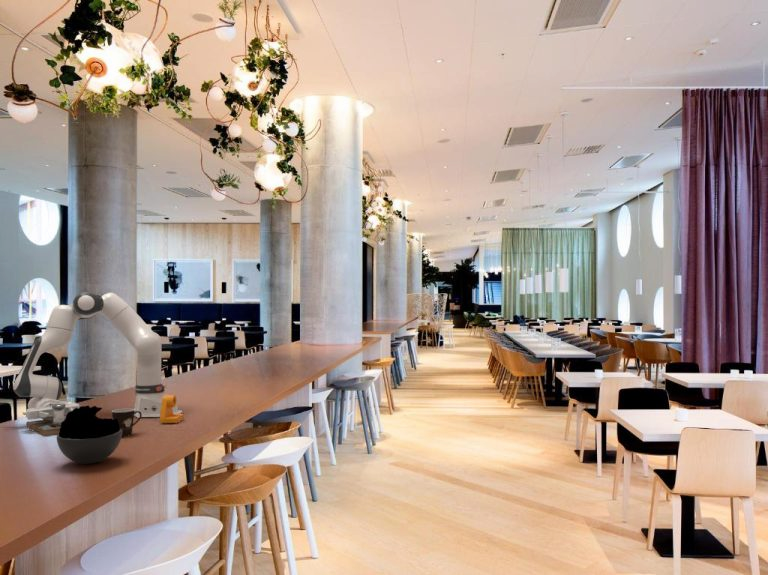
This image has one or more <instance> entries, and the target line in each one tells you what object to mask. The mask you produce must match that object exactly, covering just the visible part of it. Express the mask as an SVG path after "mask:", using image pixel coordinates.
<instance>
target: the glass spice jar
mask: <svg viewBox="0 0 768 575" xmlns="http://www.w3.org/2000/svg"><path fill="white" fill-rule="evenodd" d="M65 407H66V404H54V405H52V408H53V428H56V427H61V423H62V422H63V421H64V419H65V416H64V408H65Z"/></svg>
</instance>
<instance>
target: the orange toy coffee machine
mask: <svg viewBox="0 0 768 575" xmlns="http://www.w3.org/2000/svg"><path fill="white" fill-rule="evenodd" d="M177 401H178V400H177V396H176V394H168V395H164V396H163V398H162V404H161V412H160V418H159V423H161V424H177V423H176V422H179V421H181V420H182V421H183V419H184V418H185V417H184V416H185V415H184V413H182V414H173V409H172V407H175V406H176V402H177ZM182 421H181V422H182ZM179 423H180V422H179Z"/></svg>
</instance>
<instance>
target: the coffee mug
mask: <svg viewBox="0 0 768 575" xmlns="http://www.w3.org/2000/svg"><path fill="white" fill-rule="evenodd" d="M137 412H138V413H140V417H139V418H138V419H137V420H136V421H134V418H135V416H134V414H135V413H137ZM141 416H142V414H141V412H139V411H135V409H134V408H127V407H126V408H116V409H113V410H111V417H112V418H111V419H113V420H114V419H116V418H117V420H118V422H119V426H120V429H122V436H126V437H129V436H128V435H130V436H132V435H131V434H133V428H134V426H135V425H136V424H137V423H139V421H140V420H141V419H142V418H141Z"/></svg>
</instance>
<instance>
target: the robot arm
mask: <svg viewBox="0 0 768 575" xmlns="http://www.w3.org/2000/svg"><path fill="white" fill-rule="evenodd" d="M96 314H100V315H103V316H104V317H105V318H106V319H107V320H108V321H109V322H110V323H111V324H112V325H113V327H115V328H116V329H117V330H118V331H119V333H121V334H122V336H123V337H124V338H125V339H126V340H127V342H128V343H129V344H130V345H131V346H132V347H133V349H134V350H136V352H137V353H136V369H135V370H136V374H135V375H136V376H135V377H136V384H135V386H134V387H135V390H134V391H135V393H134V394H135V402H134V408H133V409H135V411H139V412H141V414H142V416H141V417H160V412H161V404H162V398H163V396H164V395H169V394H168V393H167V391H165V389H166V388H167V385H164V384H162V349H163V348H162V343H163V342H162V338H161V336H160V335H159V334H158V333H157V332H154V331H153V330H152V329H151V327H149V326H148V324H147V323H146V322H145V321H144V320H143V318H142V317H141V316H140V315H139V314H138V313H137V312H136V311H135V310H134V308H132V307H131V306H130V305H129V304H128V303H127V302H126V301H125V300H124V299H123V298H122V297H120V296H119V295H117V294H116V293H115V292H107V293H105V294H103V295H102V296H101V295H99V294H96V293H92V292H89V291H88V292H87V291H83V292H80V293H78V294H77V295H75V297H74V298H73V300H72V303H70V304H69V305H66V304H59V305H57V306H54V308H53V309H52V311H51V314H50V315H49V318H48V321H47V325H46V329H45V331H44V333H43V334H42V335H41V336H40V337H37V338H36V339H35V340H34V341H33V343H32V345H31V347H30V348H29V351H28V353H27V355H26V358H25V360H24V362H23V365H22V366H21V369H20V371H19V372H18V375H17V376H16V379H15V380H14V383H13V386H12V389H13V392H14V393H15V395H17V396H18V397H19V398H30V399H29V401H28V403H27V409H25V411H23V412H22V415H24V416H25V417H26V419H27V420H35V419H36V420H37V419H39V420H52V419H53V408H52V405H54V404H66V407H65V408H64V417H66V415H67V413H69V412H70V411H72V410H74V409H75V408H78V409H79V407H81V406H80V404H79V403H77V402H74V401H73V402H72V401H71V400H69V399H60V398H61V396H62V392H63V385H62V382H61V380H60V379H59V377H56V376H49V375H39V374H34V373H33V372H34V370H35V367H36V365H37V363H38V360H39V359H40V356H41V355H42V354H44V353H47V352H50V351H55V350H60V349H63V348H65V347H67V346H68V345H69V344H70V343H71V341H72V339H73V335H74V332H75V326H76V323H77V321H78V320H86V319H88V320H89V319H91V318H93V317H95V316H96ZM172 409H173V414H181V413H182V412H183V410H181V409H179V408H178V402H177V401H176V406H175V407H172ZM182 414H183V413H182ZM134 417H137V418H138V419H139V417H140V413H138V412H137V413H135V414H134ZM137 418H136V419H137Z"/></svg>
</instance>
